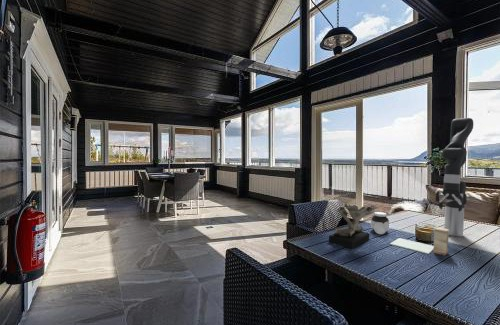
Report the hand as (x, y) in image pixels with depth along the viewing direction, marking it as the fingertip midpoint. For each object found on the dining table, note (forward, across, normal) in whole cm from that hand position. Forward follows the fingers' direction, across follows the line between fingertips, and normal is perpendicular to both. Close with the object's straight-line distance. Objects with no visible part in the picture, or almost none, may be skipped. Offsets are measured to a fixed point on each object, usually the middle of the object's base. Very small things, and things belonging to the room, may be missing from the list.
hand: (450, 210), depth 152 cm
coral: (+21, +34, +44) cm, 60 cm away
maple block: (+19, -2, +27) cm, 34 cm away
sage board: (+19, +11, +27) cm, 35 cm away
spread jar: (+19, +32, +15) cm, 40 cm away
